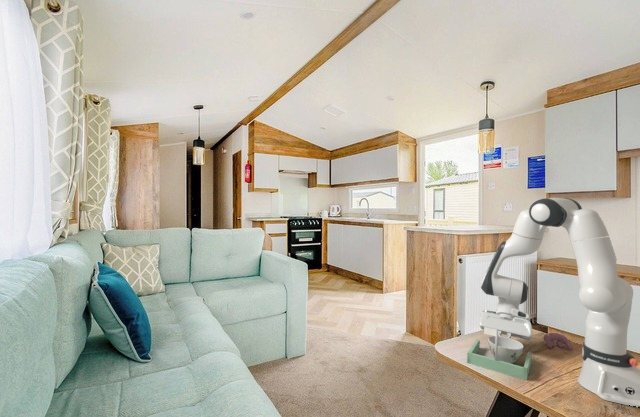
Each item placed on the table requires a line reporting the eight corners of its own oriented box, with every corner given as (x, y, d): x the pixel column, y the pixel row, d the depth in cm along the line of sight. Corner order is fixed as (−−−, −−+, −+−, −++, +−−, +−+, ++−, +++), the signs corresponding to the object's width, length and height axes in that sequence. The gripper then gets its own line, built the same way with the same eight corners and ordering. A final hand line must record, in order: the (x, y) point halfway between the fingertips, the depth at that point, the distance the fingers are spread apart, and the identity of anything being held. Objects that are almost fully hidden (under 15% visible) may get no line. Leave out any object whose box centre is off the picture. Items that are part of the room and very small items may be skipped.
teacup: (530, 367, 126) (531, 347, 126) (503, 370, 124) (503, 350, 124) (502, 349, 141) (502, 332, 141) (477, 352, 139) (477, 333, 138)
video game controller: (567, 350, 146) (562, 334, 149) (573, 350, 141) (569, 333, 144) (544, 349, 146) (540, 332, 149) (550, 348, 142) (546, 331, 145)
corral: (531, 362, 130) (532, 323, 130) (526, 380, 117) (528, 337, 117) (476, 347, 143) (477, 312, 143) (467, 362, 129) (468, 323, 129)
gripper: (480, 305, 149) (475, 333, 142) (533, 315, 137) (530, 346, 129) (482, 312, 153) (477, 339, 145) (534, 323, 140) (531, 353, 133)
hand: (503, 343), depth 137 cm, fingers closed, pressing on teacup
